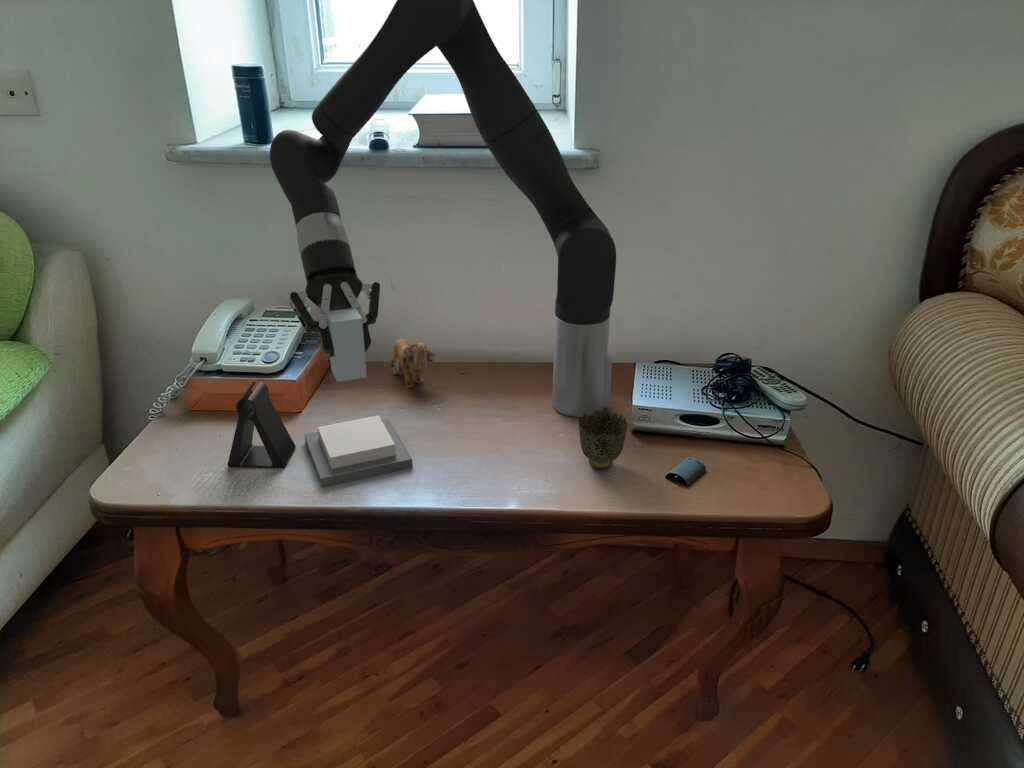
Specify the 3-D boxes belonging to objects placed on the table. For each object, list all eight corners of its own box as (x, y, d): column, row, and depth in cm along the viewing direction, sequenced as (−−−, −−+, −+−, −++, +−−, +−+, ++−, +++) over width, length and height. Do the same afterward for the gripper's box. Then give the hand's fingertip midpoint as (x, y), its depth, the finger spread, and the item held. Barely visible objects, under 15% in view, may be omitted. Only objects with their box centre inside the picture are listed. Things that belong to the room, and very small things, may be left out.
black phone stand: (296, 448, 126) (286, 381, 121) (285, 468, 121) (274, 400, 116) (241, 447, 127) (229, 380, 121) (227, 467, 121) (214, 398, 116)
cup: (593, 483, 117) (595, 437, 114) (567, 460, 123) (569, 415, 120) (634, 471, 121) (637, 425, 117) (607, 448, 126) (610, 405, 123)
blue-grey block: (359, 365, 121) (355, 307, 117) (366, 377, 117) (362, 318, 113) (331, 369, 119) (325, 311, 115) (337, 382, 116) (331, 322, 112)
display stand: (388, 425, 133) (387, 407, 131) (412, 467, 121) (411, 447, 120) (305, 442, 128) (302, 423, 126) (321, 487, 117) (319, 467, 115)
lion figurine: (440, 388, 146) (438, 343, 142) (415, 395, 143) (412, 350, 139) (402, 360, 156) (399, 318, 152) (378, 367, 154) (374, 324, 150)
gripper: (277, 242, 114) (300, 350, 110) (374, 233, 119) (400, 335, 115) (276, 266, 121) (298, 369, 116) (368, 256, 126) (392, 354, 121)
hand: (348, 352), depth 115 cm, fingers closed on blue-grey block, 4 cm apart
